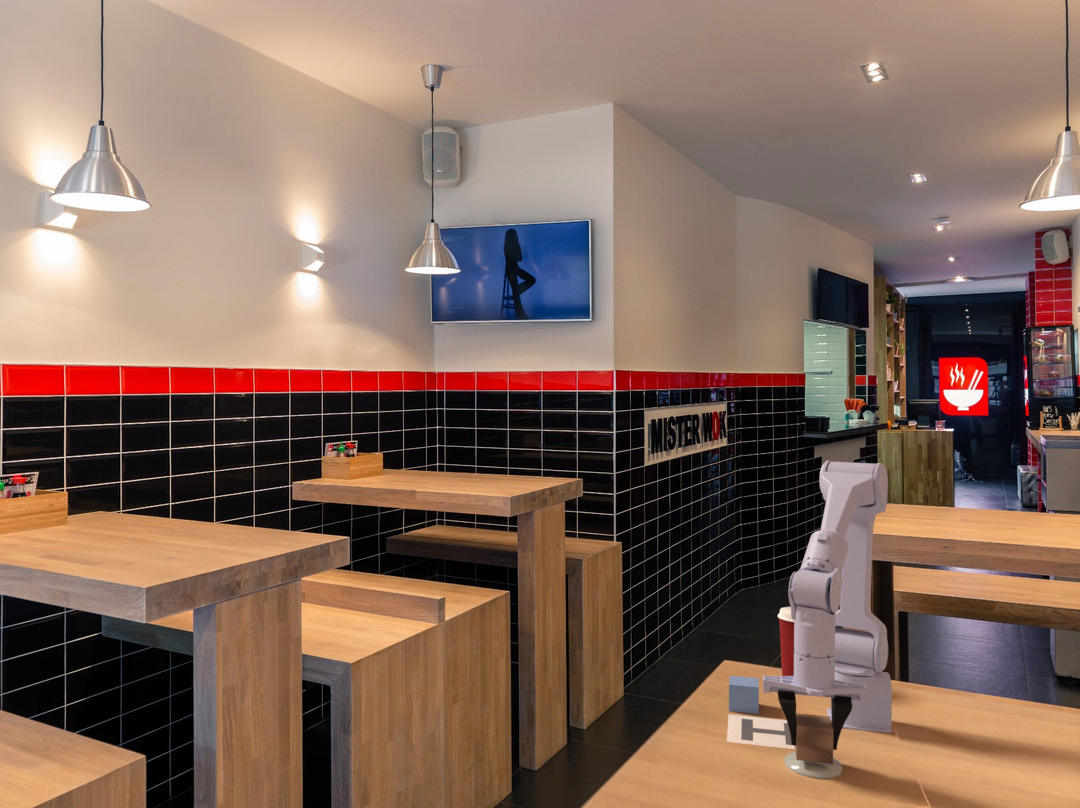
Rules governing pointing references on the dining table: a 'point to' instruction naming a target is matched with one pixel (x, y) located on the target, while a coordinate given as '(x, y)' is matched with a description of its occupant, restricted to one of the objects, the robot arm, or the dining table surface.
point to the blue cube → (744, 694)
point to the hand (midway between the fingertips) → (813, 745)
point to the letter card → (759, 731)
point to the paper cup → (787, 641)
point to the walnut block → (814, 738)
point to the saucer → (813, 767)
